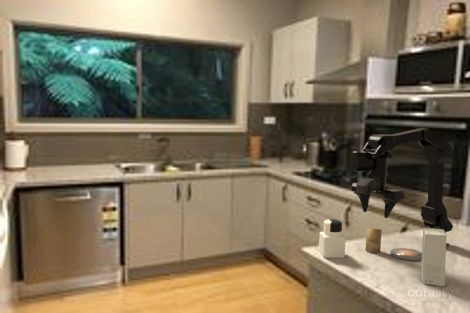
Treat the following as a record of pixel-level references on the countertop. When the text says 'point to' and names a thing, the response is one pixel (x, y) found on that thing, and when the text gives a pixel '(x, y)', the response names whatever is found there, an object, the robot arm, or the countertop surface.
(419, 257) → the coaster
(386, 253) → the countertop surface
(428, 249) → the skincare box
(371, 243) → the oak canister
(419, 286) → the countertop surface
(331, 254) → the medicine bottle
